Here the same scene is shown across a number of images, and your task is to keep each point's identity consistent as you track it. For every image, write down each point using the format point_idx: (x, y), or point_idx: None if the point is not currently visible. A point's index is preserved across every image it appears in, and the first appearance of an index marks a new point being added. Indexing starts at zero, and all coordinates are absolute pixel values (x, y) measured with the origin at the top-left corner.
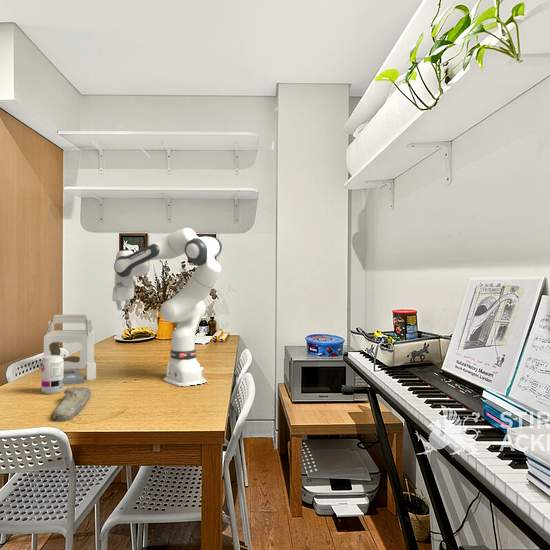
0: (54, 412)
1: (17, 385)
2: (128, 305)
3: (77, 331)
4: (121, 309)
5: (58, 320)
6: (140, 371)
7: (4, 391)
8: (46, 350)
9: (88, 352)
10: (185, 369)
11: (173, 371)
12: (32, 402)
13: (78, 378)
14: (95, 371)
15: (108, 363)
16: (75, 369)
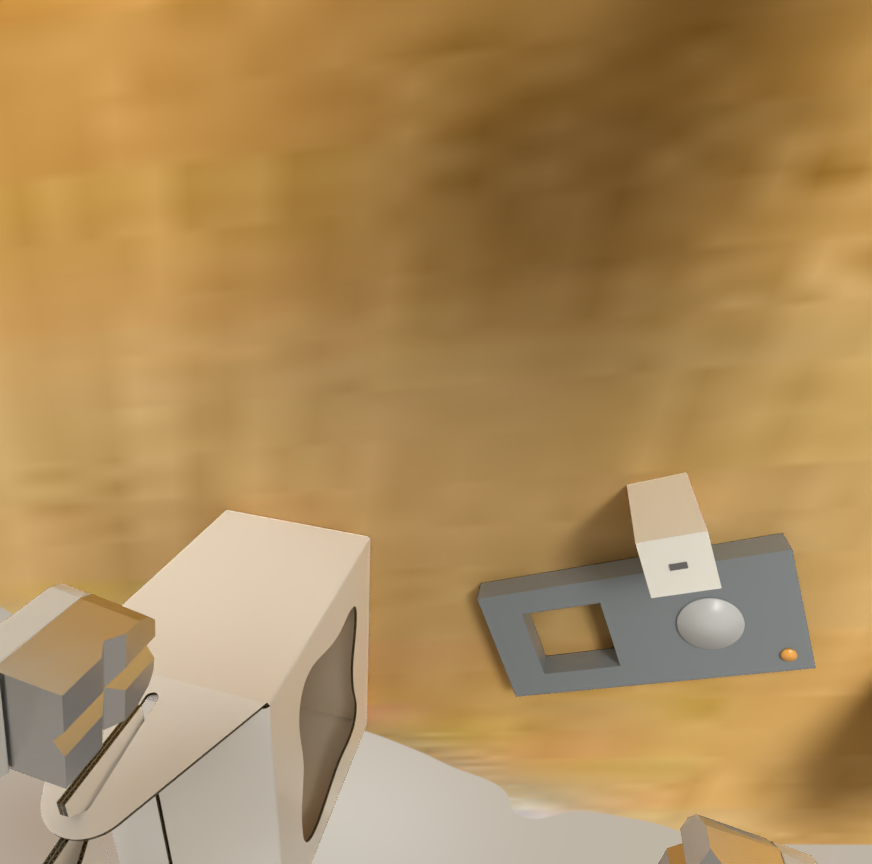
0: None
1: (710, 805)
2: (10, 643)
3: (183, 788)
4: (713, 824)
5: None
6: (523, 160)
7: (825, 844)
8: (327, 812)
9: (309, 594)
10: None
11: None
12: None
13: (779, 581)
14: (695, 501)
15: (231, 425)
16: (493, 605)
